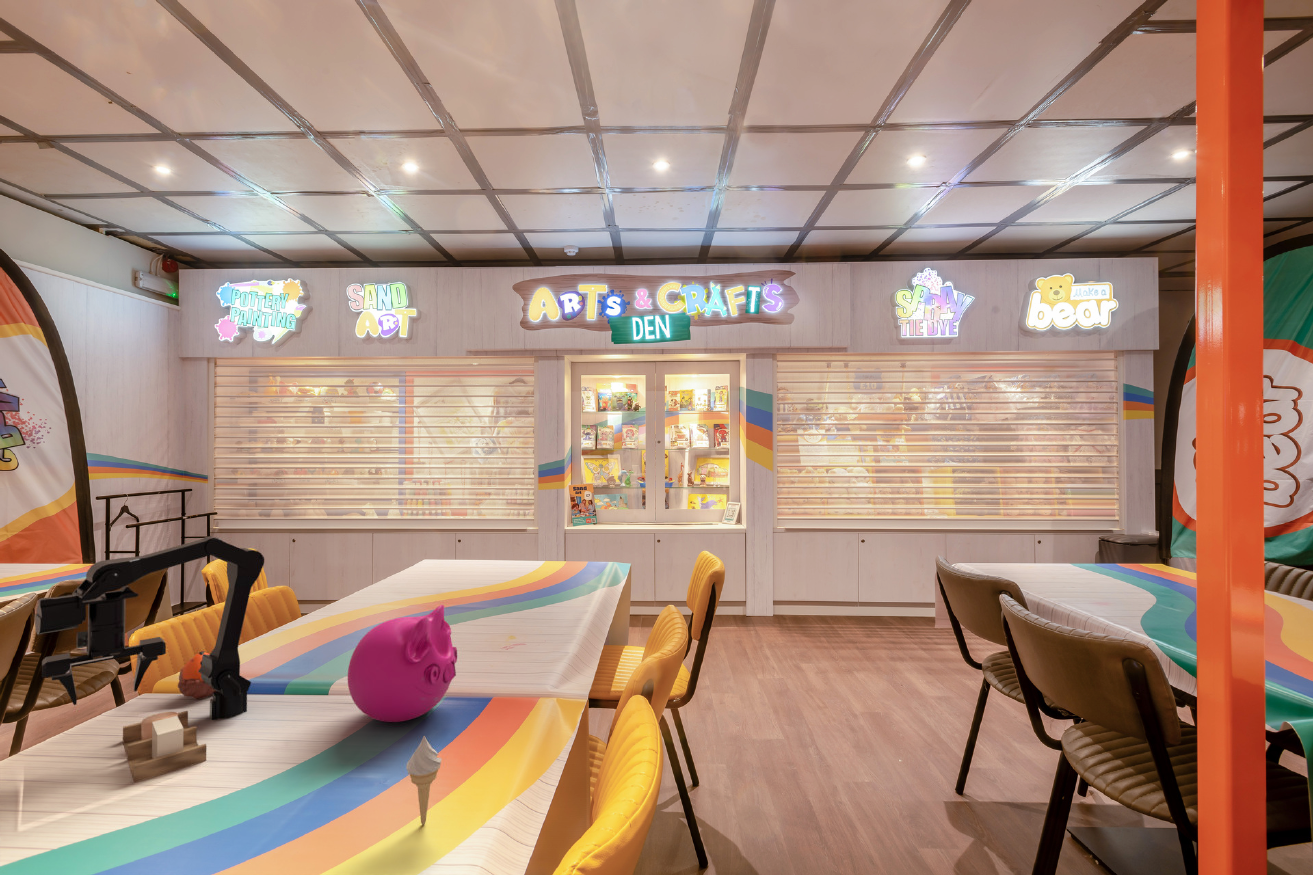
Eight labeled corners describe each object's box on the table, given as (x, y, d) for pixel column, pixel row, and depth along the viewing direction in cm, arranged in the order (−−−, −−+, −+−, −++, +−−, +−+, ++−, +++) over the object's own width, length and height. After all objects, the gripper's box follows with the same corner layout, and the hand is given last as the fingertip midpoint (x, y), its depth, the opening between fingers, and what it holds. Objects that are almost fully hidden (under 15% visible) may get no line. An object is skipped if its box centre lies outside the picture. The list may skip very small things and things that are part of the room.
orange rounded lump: (190, 689, 158) (191, 646, 158) (236, 684, 161) (237, 642, 161) (168, 708, 146) (169, 661, 146) (219, 702, 149) (219, 657, 150)
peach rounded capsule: (175, 731, 132) (175, 709, 133) (179, 741, 128) (179, 717, 128) (139, 741, 128) (139, 717, 128) (142, 751, 124) (143, 727, 124)
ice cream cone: (412, 815, 103) (412, 728, 104) (445, 813, 104) (445, 726, 104) (401, 836, 98) (401, 744, 98) (436, 834, 98) (436, 742, 99)
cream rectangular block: (176, 749, 125) (177, 715, 125) (183, 763, 119) (183, 727, 119) (151, 756, 122) (152, 721, 122) (157, 770, 116) (157, 734, 116)
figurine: (436, 740, 130) (436, 625, 130) (326, 740, 130) (327, 625, 131) (471, 696, 153) (471, 598, 153) (378, 695, 154) (379, 598, 154)
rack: (187, 727, 136) (187, 710, 136) (206, 764, 120) (206, 745, 120) (122, 744, 128) (122, 726, 128) (134, 786, 112) (134, 766, 112)
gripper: (159, 606, 137) (158, 674, 136) (42, 623, 123) (41, 699, 123) (166, 615, 129) (165, 688, 129) (42, 635, 115) (41, 716, 115)
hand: (105, 697), depth 124 cm, fingers open, 9 cm apart
